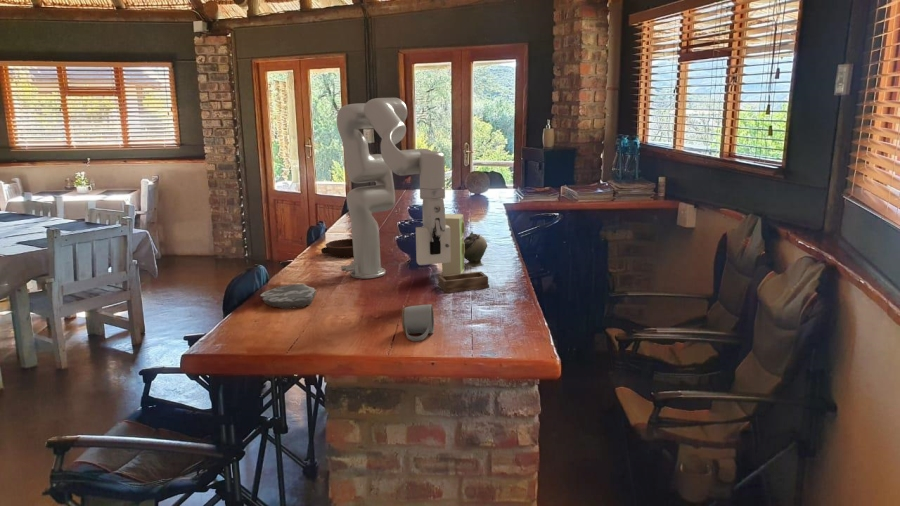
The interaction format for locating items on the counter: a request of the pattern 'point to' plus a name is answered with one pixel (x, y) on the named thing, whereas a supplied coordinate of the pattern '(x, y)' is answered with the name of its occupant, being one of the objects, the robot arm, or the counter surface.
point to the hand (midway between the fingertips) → (433, 251)
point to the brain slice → (289, 296)
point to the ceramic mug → (418, 321)
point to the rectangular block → (424, 247)
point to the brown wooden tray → (463, 282)
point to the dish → (339, 248)
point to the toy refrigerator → (455, 245)
